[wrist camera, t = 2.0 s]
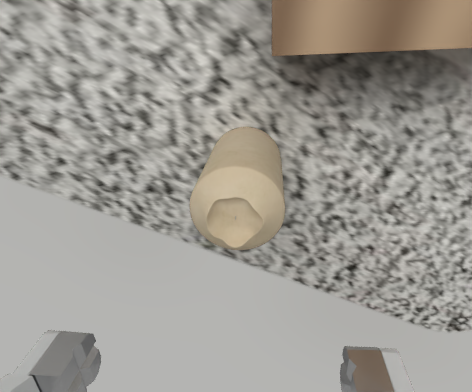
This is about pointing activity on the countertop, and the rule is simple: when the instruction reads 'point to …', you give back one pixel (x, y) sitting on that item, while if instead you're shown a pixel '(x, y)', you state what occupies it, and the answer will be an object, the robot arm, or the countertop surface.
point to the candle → (240, 191)
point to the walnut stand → (369, 26)
